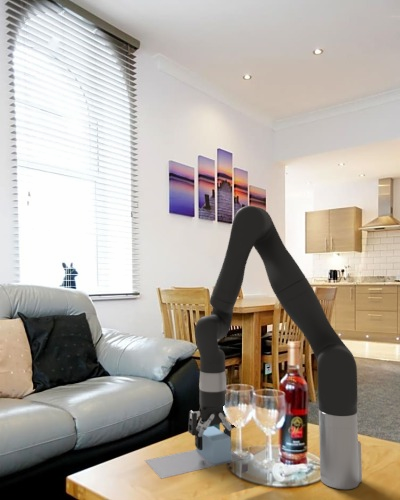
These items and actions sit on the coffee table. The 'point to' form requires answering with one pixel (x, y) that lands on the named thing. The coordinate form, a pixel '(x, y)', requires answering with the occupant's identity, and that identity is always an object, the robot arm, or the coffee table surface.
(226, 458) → the pale blue upright block
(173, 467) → the stub board
